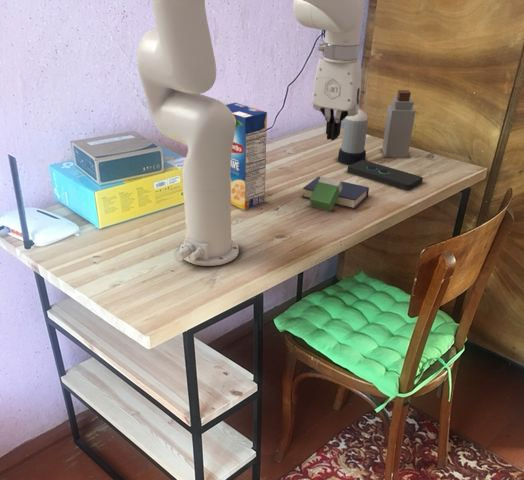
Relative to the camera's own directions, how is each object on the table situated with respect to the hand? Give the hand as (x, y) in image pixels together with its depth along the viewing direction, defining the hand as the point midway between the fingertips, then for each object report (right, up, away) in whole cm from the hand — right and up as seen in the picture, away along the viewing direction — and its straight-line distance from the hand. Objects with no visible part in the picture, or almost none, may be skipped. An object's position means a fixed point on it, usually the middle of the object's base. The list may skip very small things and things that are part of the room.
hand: (332, 138), depth 138 cm
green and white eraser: (-1, -11, +7) cm, 13 cm away
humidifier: (+10, +6, +36) cm, 38 cm away
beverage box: (-22, -12, +11) cm, 28 cm away
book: (+2, -10, +14) cm, 17 cm away
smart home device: (+17, -2, +26) cm, 31 cm away
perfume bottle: (+24, +10, +42) cm, 50 cm away
